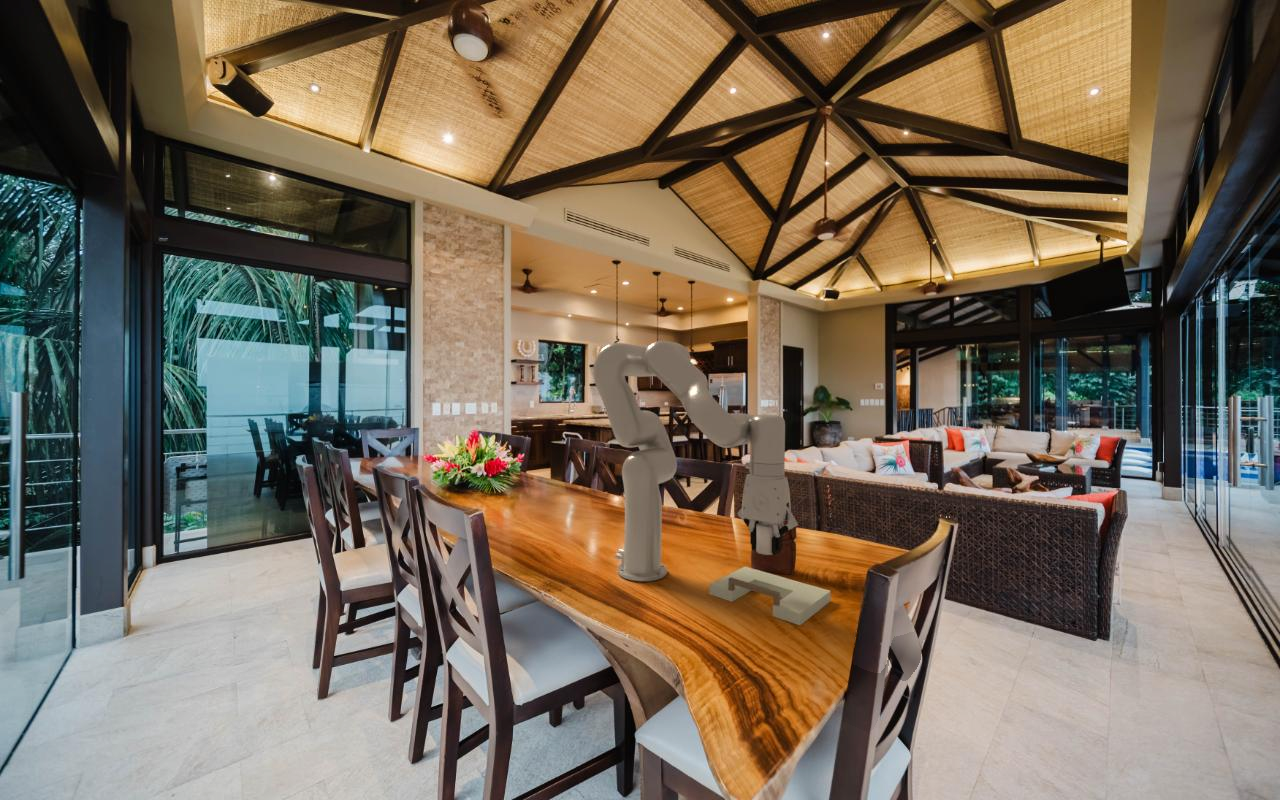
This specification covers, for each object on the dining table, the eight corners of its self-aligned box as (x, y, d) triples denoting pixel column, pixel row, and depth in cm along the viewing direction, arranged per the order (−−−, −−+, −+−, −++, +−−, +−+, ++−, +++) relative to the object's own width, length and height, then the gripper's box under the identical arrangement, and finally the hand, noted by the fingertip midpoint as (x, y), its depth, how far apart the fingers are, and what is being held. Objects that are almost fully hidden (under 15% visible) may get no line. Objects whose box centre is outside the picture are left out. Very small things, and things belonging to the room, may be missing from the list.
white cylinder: (752, 551, 112) (752, 525, 112) (762, 547, 115) (762, 521, 115) (770, 556, 109) (770, 528, 109) (779, 551, 112) (780, 524, 112)
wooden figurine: (794, 568, 134) (796, 501, 134) (795, 576, 128) (797, 506, 127) (749, 563, 137) (751, 498, 137) (748, 571, 131) (750, 503, 131)
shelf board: (709, 594, 116) (709, 572, 116) (744, 575, 128) (745, 556, 128) (799, 625, 101) (800, 601, 101) (830, 601, 113) (830, 579, 113)
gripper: (725, 467, 115) (725, 546, 115) (795, 476, 104) (794, 564, 104) (742, 464, 120) (741, 539, 121) (810, 472, 109) (809, 555, 109)
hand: (766, 550), depth 112 cm, fingers closed on white cylinder, 4 cm apart
